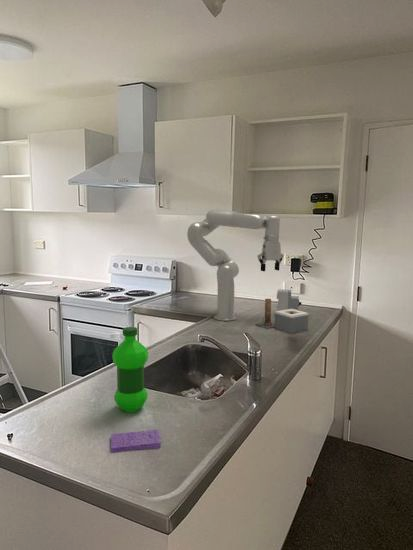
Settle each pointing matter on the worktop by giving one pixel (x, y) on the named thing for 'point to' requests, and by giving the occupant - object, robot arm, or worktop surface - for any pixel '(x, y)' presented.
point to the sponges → (135, 440)
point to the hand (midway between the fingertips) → (270, 270)
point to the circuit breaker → (287, 300)
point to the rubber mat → (266, 326)
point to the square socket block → (291, 320)
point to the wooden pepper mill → (267, 312)
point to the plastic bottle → (130, 372)
